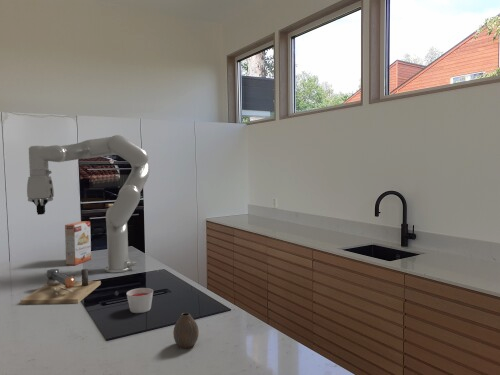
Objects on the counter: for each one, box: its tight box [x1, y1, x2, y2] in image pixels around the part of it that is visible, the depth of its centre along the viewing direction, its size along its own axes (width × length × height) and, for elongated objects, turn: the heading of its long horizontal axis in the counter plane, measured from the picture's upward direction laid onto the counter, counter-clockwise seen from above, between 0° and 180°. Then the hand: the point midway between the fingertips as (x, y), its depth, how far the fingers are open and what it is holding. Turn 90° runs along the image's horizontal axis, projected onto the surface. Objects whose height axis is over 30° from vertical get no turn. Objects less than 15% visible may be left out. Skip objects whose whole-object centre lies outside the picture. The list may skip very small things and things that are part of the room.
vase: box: [172, 312, 199, 349], centre depth 110 cm, size 7×7×9 cm
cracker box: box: [64, 220, 92, 266], centre depth 209 cm, size 14×6×21 cm, turn 168°
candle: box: [126, 287, 154, 314], centre depth 138 cm, size 9×9×6 cm
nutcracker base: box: [19, 268, 102, 305], centre depth 157 cm, size 21×23×8 cm
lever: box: [46, 268, 75, 288], centre depth 158 cm, size 22×4×3 cm, turn 45°
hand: (41, 214), depth 179 cm, fingers closed
